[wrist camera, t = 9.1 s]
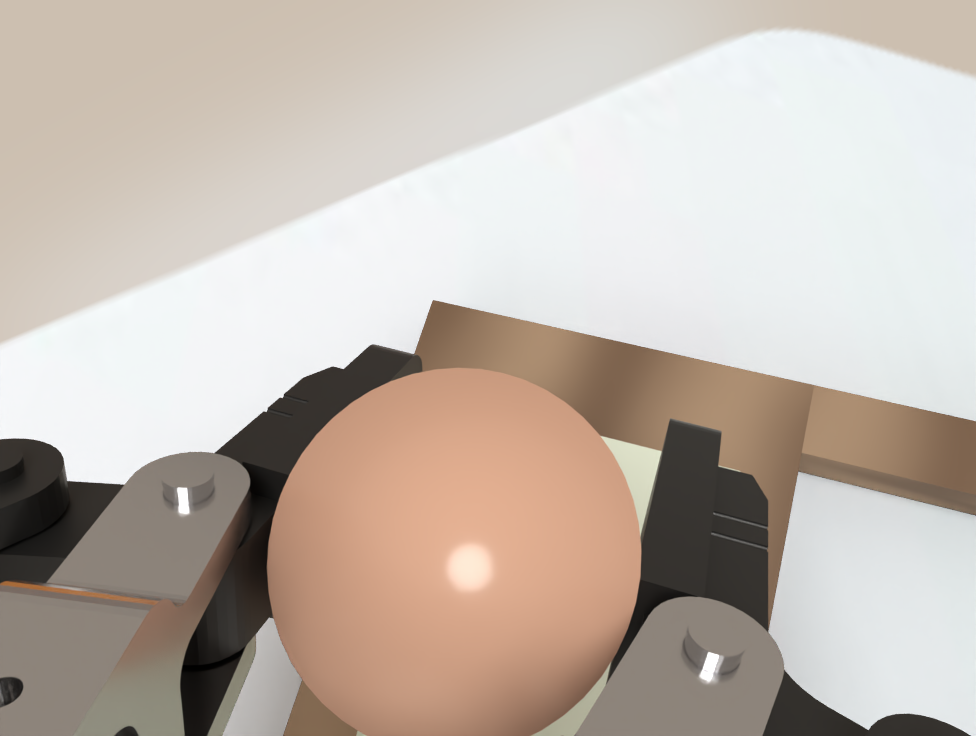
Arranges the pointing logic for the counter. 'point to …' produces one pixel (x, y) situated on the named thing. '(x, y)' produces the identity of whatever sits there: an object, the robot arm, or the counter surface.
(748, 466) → the hole board
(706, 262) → the counter surface
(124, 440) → the counter surface
